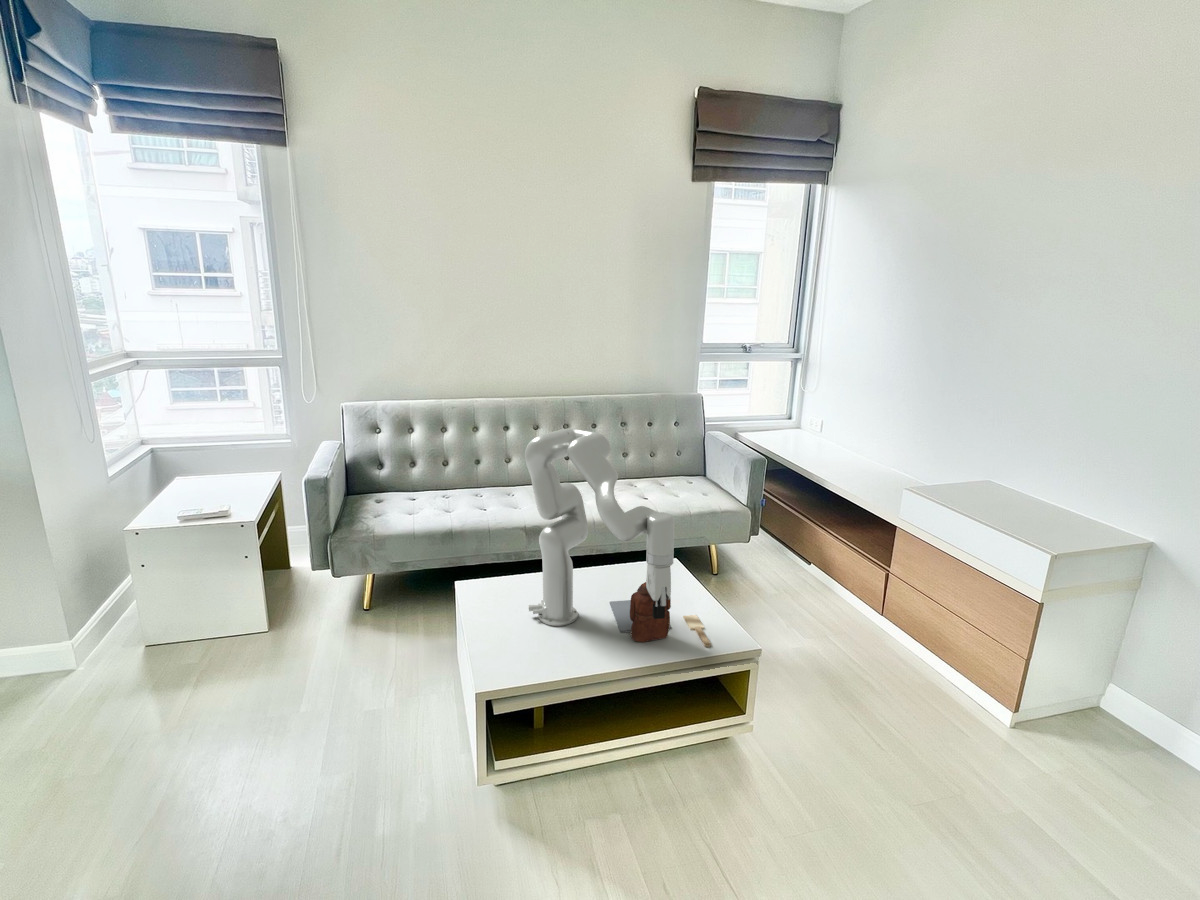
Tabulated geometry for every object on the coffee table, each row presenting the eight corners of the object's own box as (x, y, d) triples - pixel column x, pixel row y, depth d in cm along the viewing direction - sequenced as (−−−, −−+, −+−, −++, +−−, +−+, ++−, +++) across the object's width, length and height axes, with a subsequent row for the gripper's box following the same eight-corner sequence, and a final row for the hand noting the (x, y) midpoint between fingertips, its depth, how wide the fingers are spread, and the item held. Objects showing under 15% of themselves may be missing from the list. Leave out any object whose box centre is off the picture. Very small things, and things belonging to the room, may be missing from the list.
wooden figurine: (661, 628, 192) (663, 574, 188) (670, 638, 186) (673, 583, 182) (626, 634, 188) (627, 580, 184) (634, 645, 182) (636, 589, 178)
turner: (715, 646, 182) (715, 643, 182) (700, 647, 182) (700, 644, 181) (696, 616, 200) (696, 613, 199) (683, 617, 199) (683, 614, 199)
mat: (620, 632, 189) (620, 630, 189) (609, 603, 207) (609, 601, 207) (671, 628, 192) (671, 627, 192) (655, 600, 210) (656, 598, 210)
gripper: (640, 547, 178) (639, 606, 182) (653, 569, 164) (652, 631, 168) (665, 546, 179) (664, 604, 183) (680, 567, 165) (678, 629, 169)
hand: (658, 617), depth 176 cm, fingers closed
